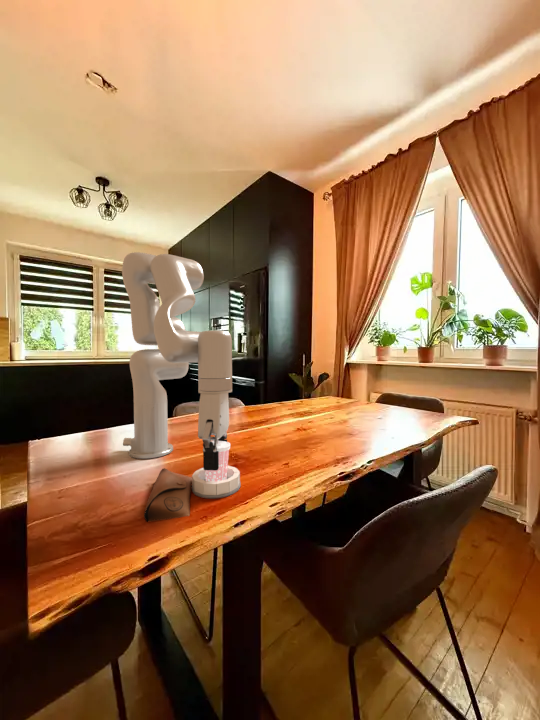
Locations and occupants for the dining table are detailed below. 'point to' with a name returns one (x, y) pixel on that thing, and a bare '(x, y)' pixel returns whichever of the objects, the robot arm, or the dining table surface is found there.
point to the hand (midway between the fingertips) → (216, 462)
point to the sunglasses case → (169, 497)
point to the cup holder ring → (216, 484)
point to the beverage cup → (220, 463)
